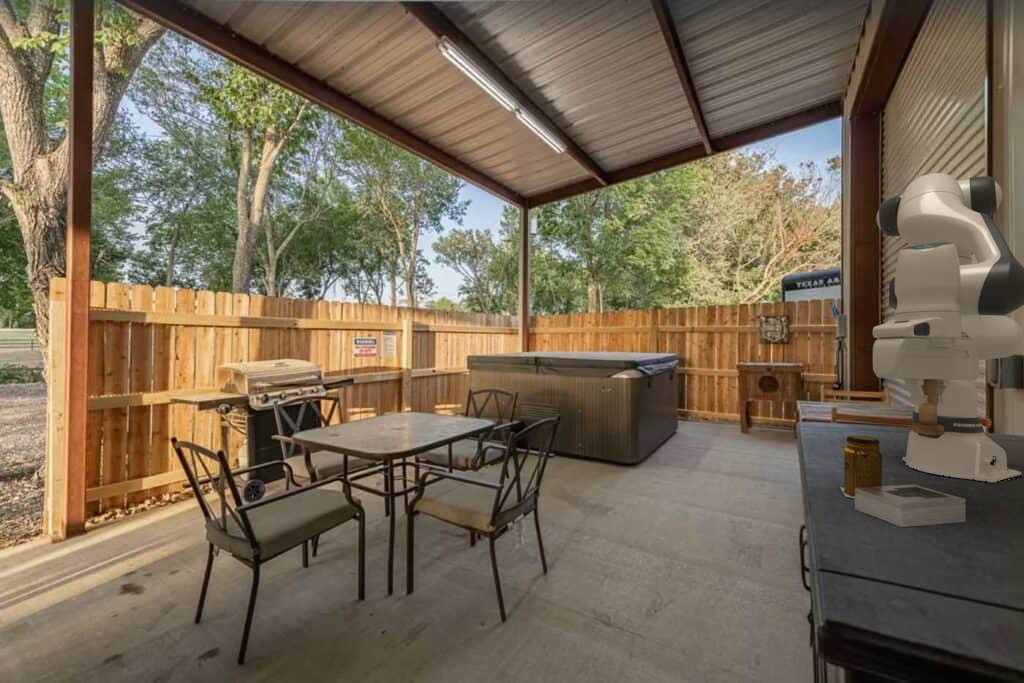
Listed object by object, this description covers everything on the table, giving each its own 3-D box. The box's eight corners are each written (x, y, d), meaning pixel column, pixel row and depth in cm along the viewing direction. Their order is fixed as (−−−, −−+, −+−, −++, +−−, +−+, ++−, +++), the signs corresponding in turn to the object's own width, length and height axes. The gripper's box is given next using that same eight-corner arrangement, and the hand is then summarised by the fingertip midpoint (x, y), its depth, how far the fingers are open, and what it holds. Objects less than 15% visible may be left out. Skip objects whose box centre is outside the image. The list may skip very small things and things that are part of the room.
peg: (924, 431, 80) (923, 378, 80) (949, 435, 76) (949, 379, 76) (907, 431, 79) (906, 377, 79) (932, 435, 75) (931, 379, 75)
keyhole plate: (914, 504, 82) (914, 484, 82) (965, 521, 74) (965, 499, 74) (854, 509, 80) (854, 488, 80) (901, 527, 72) (901, 503, 72)
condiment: (839, 487, 92) (839, 432, 92) (890, 495, 88) (890, 437, 88) (845, 497, 86) (845, 438, 86) (900, 506, 82) (900, 444, 82)
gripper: (949, 332, 83) (950, 402, 83) (865, 328, 79) (865, 402, 79) (991, 330, 77) (992, 406, 76) (901, 326, 73) (902, 406, 73)
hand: (927, 404), depth 78 cm, fingers closed on peg, 2 cm apart
